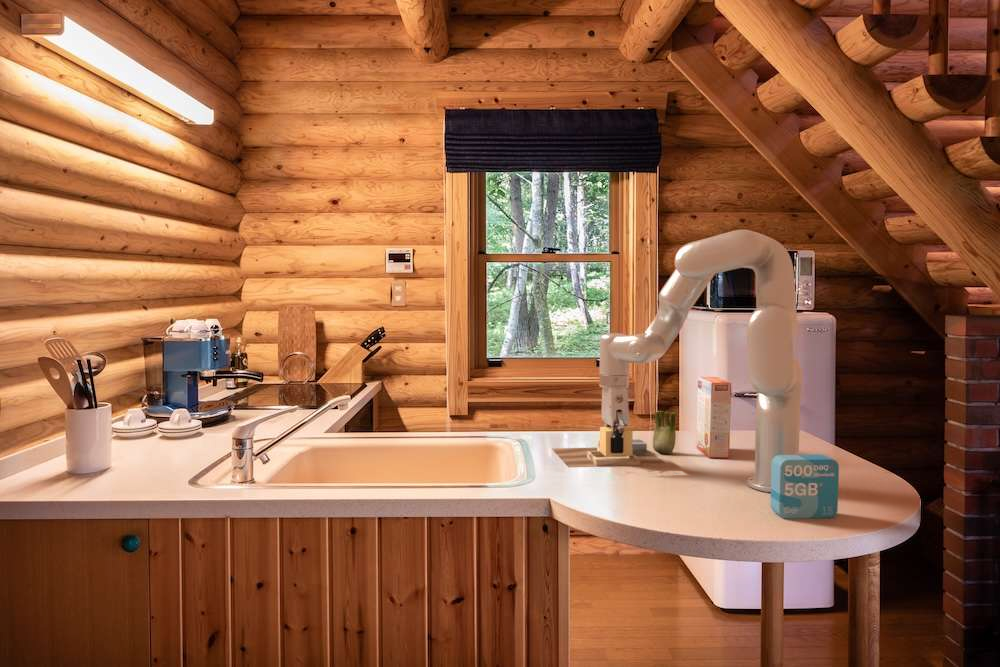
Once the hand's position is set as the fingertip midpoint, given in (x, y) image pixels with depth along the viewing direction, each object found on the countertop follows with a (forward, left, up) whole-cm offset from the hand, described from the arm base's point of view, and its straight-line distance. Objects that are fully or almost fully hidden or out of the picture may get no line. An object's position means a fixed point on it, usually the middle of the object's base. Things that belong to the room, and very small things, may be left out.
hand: (613, 449), depth 191 cm
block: (0, -1, -1) cm, 1 cm away
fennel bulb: (+12, -18, -4) cm, 22 cm away
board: (+5, 0, -4) cm, 7 cm away
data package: (-46, -27, -4) cm, 53 cm away
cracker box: (+11, -32, -4) cm, 34 cm away
